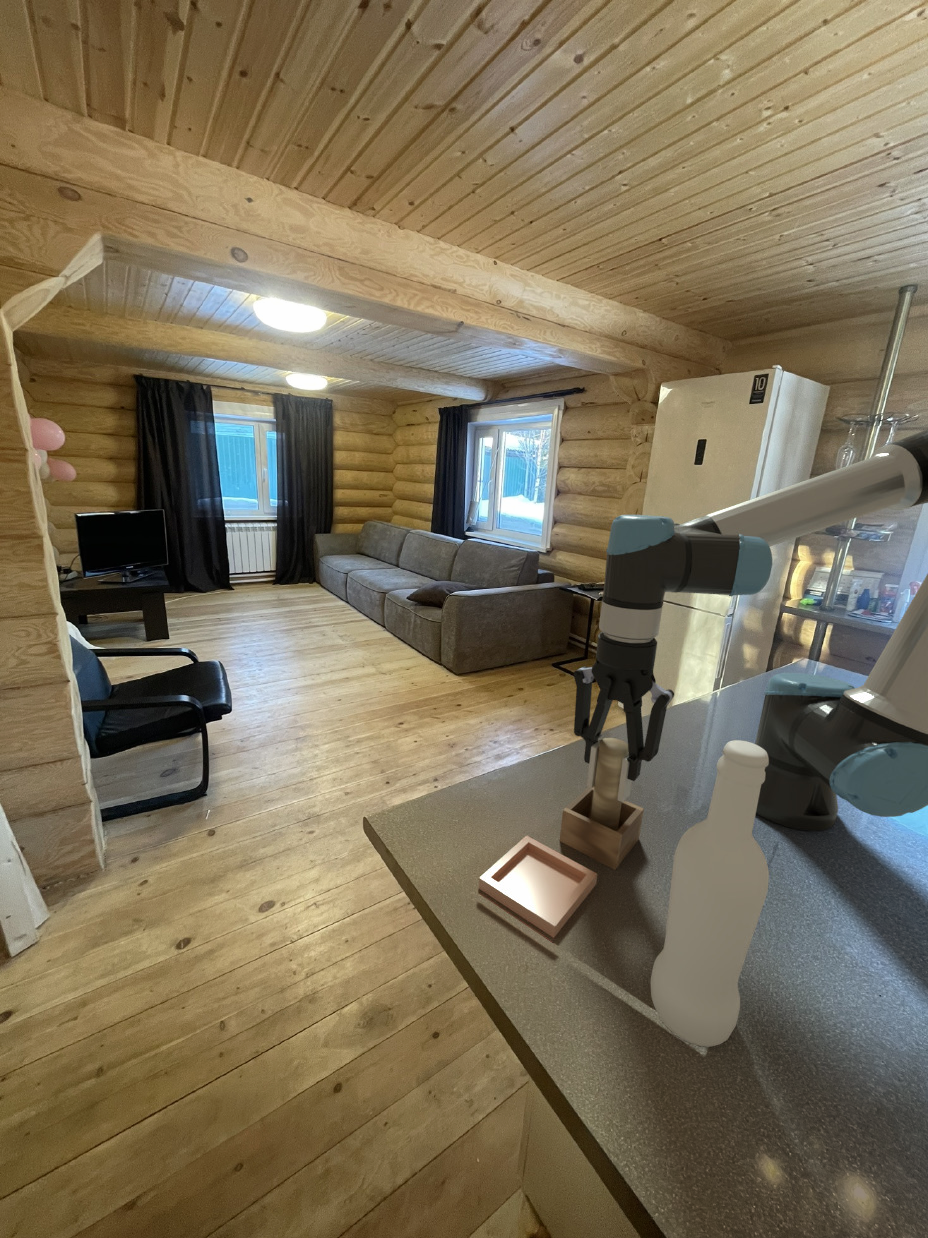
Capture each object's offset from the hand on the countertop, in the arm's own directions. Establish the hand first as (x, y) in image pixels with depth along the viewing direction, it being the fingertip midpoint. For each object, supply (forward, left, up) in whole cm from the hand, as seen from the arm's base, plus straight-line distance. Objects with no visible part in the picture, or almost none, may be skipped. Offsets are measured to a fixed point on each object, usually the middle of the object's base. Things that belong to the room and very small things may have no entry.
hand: (608, 790), depth 74 cm
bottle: (-18, +17, -9) cm, 26 cm away
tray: (+2, +14, -9) cm, 17 cm away
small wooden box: (0, 0, -9) cm, 9 cm away
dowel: (0, 0, -7) cm, 7 cm away
